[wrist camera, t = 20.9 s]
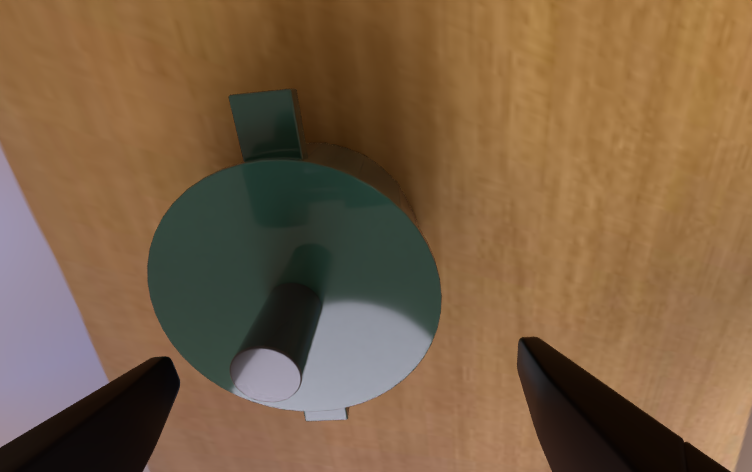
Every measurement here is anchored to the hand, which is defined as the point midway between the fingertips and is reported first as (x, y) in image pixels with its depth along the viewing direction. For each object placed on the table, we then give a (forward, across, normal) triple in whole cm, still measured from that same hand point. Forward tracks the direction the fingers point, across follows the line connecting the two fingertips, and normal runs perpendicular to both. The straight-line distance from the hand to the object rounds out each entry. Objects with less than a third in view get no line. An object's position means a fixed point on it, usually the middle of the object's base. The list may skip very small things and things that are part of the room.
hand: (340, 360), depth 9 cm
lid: (+6, +3, +2) cm, 7 cm away
